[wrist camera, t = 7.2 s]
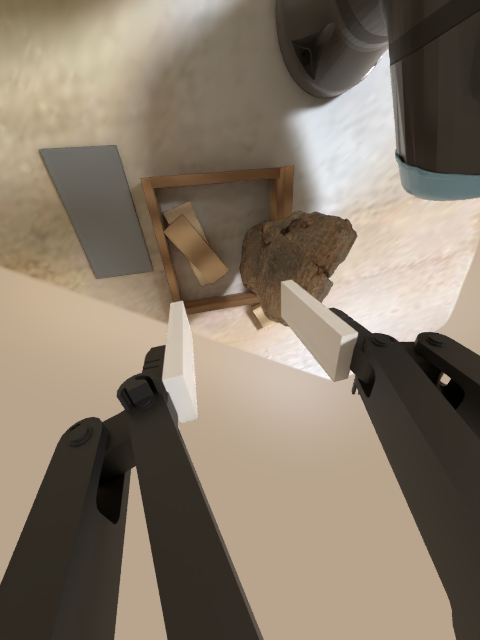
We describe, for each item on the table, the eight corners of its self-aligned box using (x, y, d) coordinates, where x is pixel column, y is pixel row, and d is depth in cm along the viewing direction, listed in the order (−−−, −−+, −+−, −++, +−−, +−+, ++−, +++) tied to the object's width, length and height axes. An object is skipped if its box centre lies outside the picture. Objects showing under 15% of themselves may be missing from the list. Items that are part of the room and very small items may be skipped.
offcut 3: (250, 306, 46) (252, 310, 44) (266, 296, 45) (269, 300, 44) (262, 325, 49) (264, 330, 47) (277, 316, 49) (280, 320, 47)
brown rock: (246, 281, 42) (303, 342, 27) (223, 275, 40) (271, 339, 24) (275, 205, 36) (370, 227, 21) (250, 194, 34) (336, 208, 18)
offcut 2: (164, 229, 33) (163, 232, 32) (182, 213, 33) (181, 214, 31) (211, 280, 39) (212, 284, 37) (227, 267, 38) (228, 270, 37)
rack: (144, 179, 31) (136, 177, 26) (277, 169, 34) (294, 165, 29) (177, 308, 42) (176, 324, 37) (275, 292, 45) (287, 305, 40)
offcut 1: (164, 212, 34) (162, 213, 32) (189, 200, 34) (189, 200, 32) (200, 282, 41) (201, 286, 39) (221, 273, 41) (223, 276, 39)
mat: (40, 149, 27) (38, 149, 27) (116, 145, 28) (115, 145, 28) (97, 277, 36) (96, 278, 36) (153, 270, 37) (152, 271, 37)
